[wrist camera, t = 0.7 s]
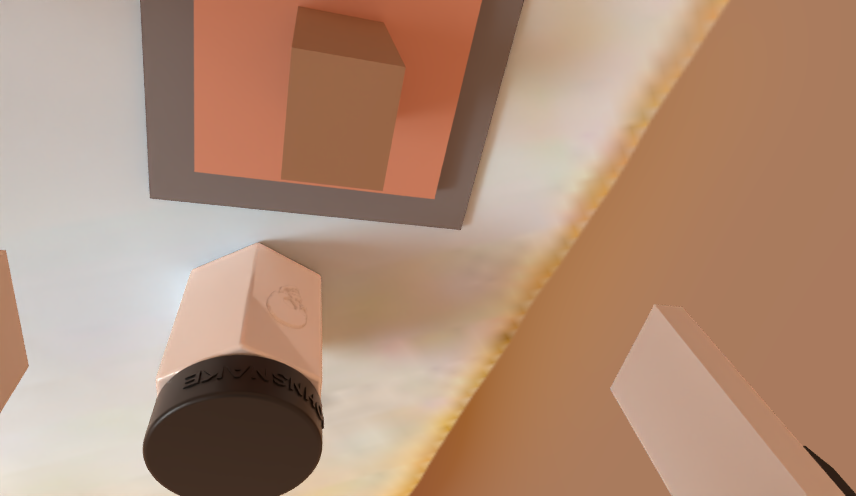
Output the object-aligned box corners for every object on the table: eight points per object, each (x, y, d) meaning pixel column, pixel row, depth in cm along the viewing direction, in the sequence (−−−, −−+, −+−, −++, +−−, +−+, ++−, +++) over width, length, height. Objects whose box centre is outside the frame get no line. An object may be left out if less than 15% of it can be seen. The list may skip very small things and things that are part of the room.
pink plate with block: (198, 162, 30) (158, 255, 22) (198, -120, 24) (142, -124, 16) (430, 189, 33) (464, 279, 26) (487, -52, 27) (555, -28, 19)
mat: (152, 193, 31) (150, 198, 31) (134, -210, 22) (129, -212, 22) (458, 225, 36) (460, 229, 35) (546, -100, 27) (551, -99, 26)
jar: (351, 286, 37) (364, 433, 27) (283, 364, 40) (272, 524, 30) (226, 219, 33) (187, 363, 23) (160, 312, 36) (99, 476, 26)
